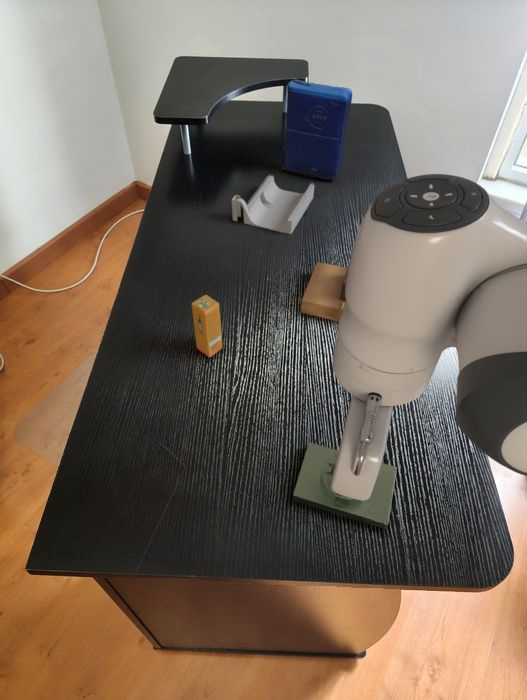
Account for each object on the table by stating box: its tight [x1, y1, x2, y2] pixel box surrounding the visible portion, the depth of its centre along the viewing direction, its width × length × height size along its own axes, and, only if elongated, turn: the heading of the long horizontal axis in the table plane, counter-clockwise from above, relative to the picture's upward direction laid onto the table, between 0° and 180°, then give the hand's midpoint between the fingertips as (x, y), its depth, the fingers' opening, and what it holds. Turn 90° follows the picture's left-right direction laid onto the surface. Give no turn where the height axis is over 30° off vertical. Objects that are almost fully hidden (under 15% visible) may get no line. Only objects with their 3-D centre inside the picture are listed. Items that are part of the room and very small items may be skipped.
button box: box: [292, 442, 398, 530], centre depth 62 cm, size 12×8×4 cm, turn 72°
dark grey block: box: [340, 262, 350, 300], centre depth 82 cm, size 6×2×4 cm, turn 161°
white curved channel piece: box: [231, 175, 315, 235], centre depth 103 cm, size 15×13×5 cm
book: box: [281, 79, 353, 181], centre depth 107 cm, size 14×5×20 cm, turn 67°
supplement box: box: [191, 294, 224, 358], centre depth 75 cm, size 3×3×10 cm
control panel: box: [300, 261, 348, 322], centre depth 85 cm, size 14×11×3 cm
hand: (359, 435), depth 53 cm, fingers closed
